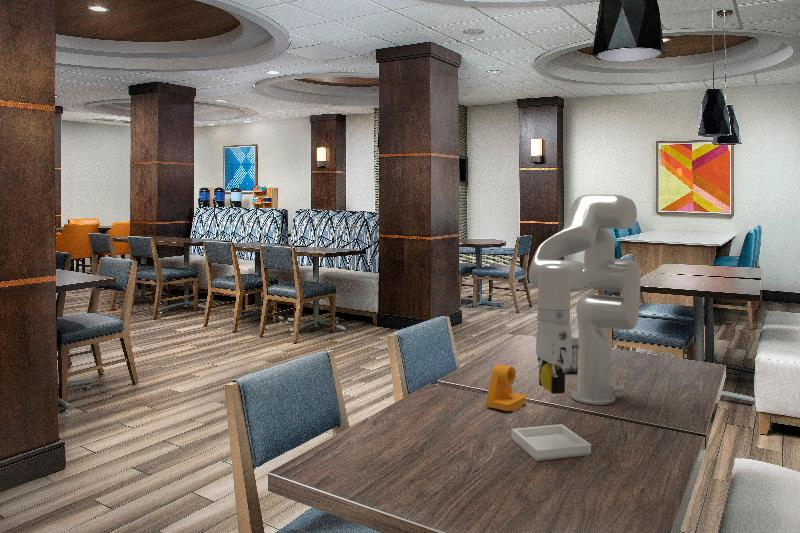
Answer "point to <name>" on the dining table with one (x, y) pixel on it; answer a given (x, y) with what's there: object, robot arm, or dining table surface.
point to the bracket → (503, 390)
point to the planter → (573, 356)
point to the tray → (550, 442)
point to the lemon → (547, 376)
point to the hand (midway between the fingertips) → (551, 388)
